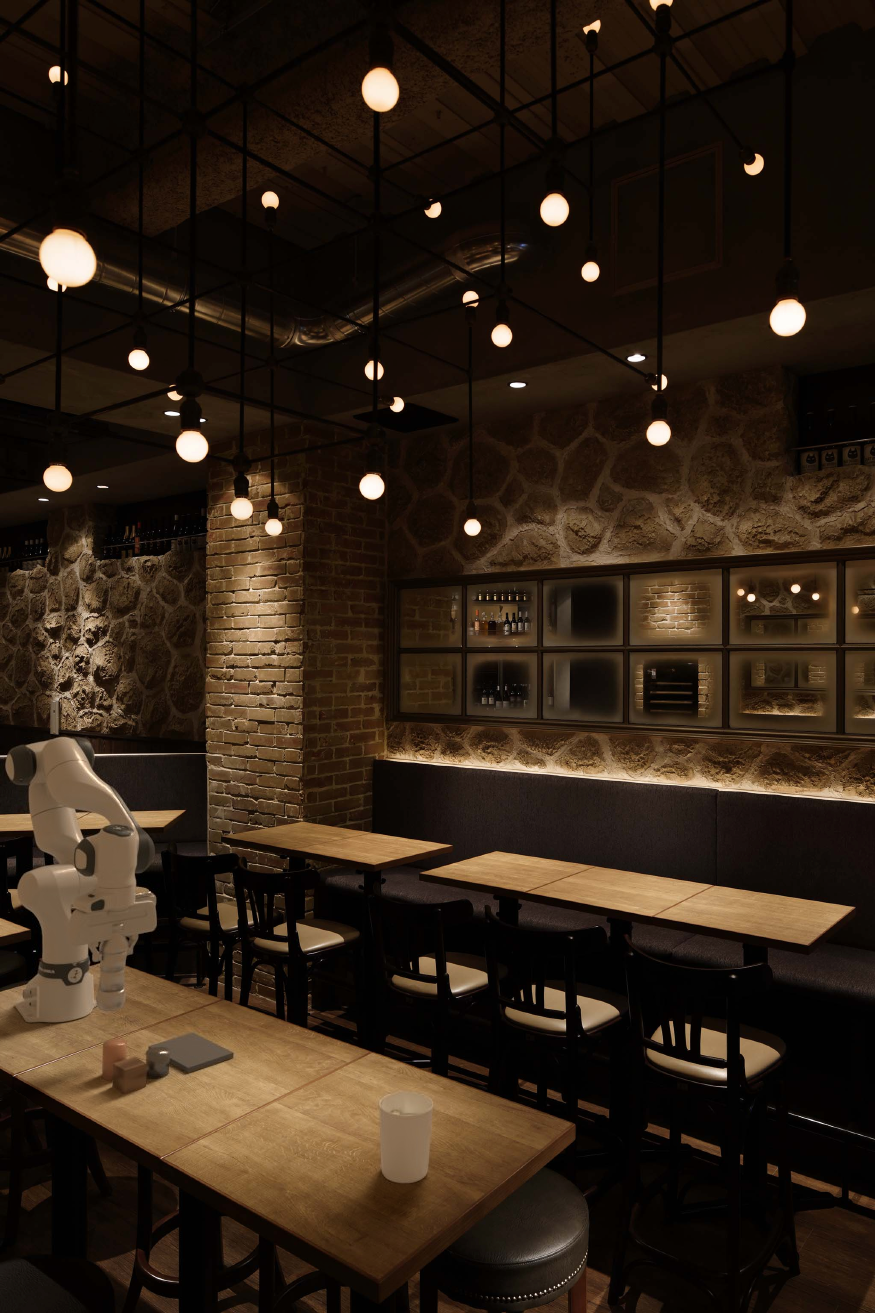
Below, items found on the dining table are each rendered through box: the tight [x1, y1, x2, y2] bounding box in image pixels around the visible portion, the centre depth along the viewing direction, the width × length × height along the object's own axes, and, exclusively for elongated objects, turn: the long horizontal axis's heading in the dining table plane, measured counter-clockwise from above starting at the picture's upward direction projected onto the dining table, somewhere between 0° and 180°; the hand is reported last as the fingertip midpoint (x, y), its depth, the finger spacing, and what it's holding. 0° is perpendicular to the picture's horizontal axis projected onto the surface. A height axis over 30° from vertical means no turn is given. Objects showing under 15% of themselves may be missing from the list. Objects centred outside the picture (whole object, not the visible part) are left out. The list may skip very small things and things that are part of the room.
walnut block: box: [111, 1056, 147, 1095], centre depth 190 cm, size 5×5×5 cm
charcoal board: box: [147, 1032, 235, 1074], centre depth 208 cm, size 17×12×1 cm
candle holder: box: [378, 1090, 434, 1184], centre depth 160 cm, size 10×10×12 cm
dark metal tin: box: [145, 1047, 170, 1080], centre depth 197 cm, size 5×5×5 cm
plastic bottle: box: [95, 923, 129, 1012], centre depth 205 cm, size 6×7×20 cm
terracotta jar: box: [101, 1038, 128, 1081], centre depth 196 cm, size 5×5×7 cm
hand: (112, 957), depth 204 cm, fingers closed on plastic bottle, 6 cm apart
